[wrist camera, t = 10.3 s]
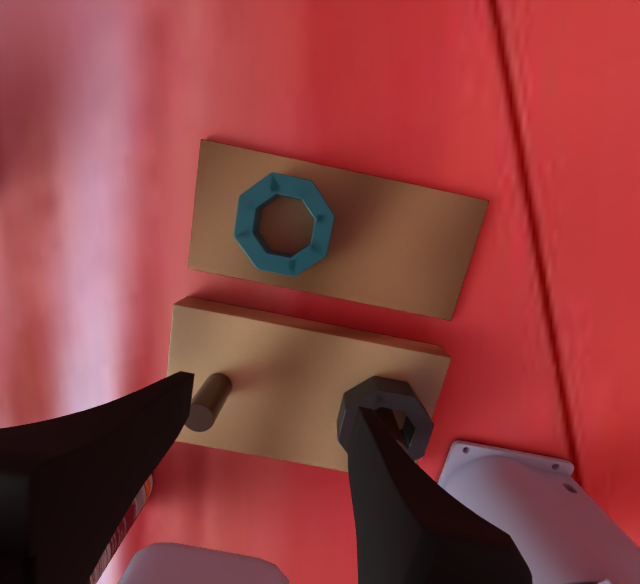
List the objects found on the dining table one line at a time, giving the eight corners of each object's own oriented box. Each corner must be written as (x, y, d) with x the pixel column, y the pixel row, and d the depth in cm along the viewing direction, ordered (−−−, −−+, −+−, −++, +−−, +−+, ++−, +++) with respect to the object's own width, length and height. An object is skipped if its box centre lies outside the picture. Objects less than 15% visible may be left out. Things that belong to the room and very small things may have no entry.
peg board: (440, 345, 22) (478, 387, 16) (403, 462, 24) (426, 532, 19) (187, 295, 21) (140, 322, 16) (174, 420, 23) (129, 480, 18)
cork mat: (486, 201, 19) (489, 200, 19) (448, 319, 21) (451, 321, 21) (203, 140, 19) (200, 138, 18) (190, 267, 21) (187, 268, 20)
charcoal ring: (431, 386, 20) (442, 402, 18) (409, 456, 21) (416, 477, 20) (348, 370, 20) (351, 384, 18) (331, 442, 21) (331, 462, 19)
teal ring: (339, 189, 19) (341, 186, 17) (321, 276, 20) (321, 282, 18) (250, 170, 19) (242, 165, 17) (237, 260, 20) (229, 263, 18)
